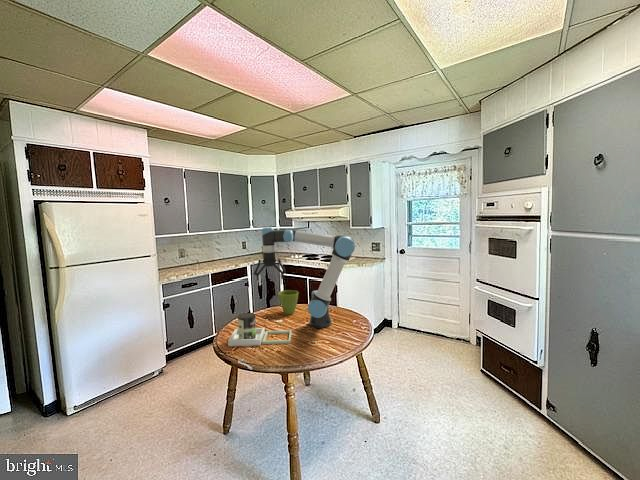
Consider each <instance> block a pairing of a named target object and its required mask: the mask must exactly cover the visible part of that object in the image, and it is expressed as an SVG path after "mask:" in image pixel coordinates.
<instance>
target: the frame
mask: <svg viewBox="0 0 640 480" xmlns="http://www.w3.org/2000/svg"><path fill="white" fill-rule="evenodd" d="M292 332H293V331H292V330H266V331H265V334H264V336H263V339H262V342H261V345H275V344H277V345H279V344H282V345H283V344H291V340H292ZM271 334H272V335H275V334H277V335H278V334H279V335H280V334H281V335H282V334H289V335H288V339H283V340H266V339H267V337H268V335H271Z"/></svg>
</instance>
